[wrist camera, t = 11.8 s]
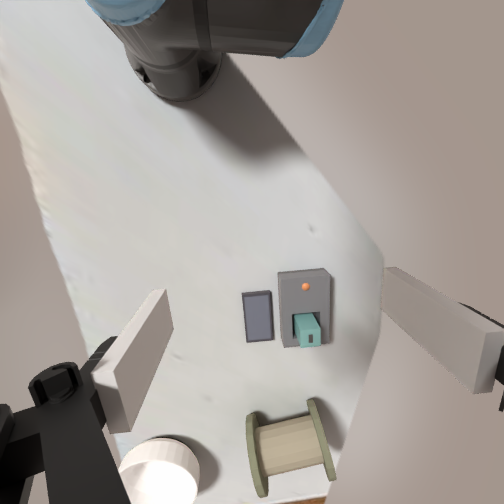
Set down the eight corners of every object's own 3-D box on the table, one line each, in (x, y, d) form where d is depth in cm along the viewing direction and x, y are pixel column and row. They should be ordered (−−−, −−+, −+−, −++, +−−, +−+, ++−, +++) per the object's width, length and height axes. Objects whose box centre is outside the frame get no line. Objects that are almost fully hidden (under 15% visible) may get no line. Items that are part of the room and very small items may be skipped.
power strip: (277, 272, 54) (280, 280, 50) (323, 268, 55) (330, 275, 51) (280, 336, 59) (284, 348, 55) (323, 332, 59) (329, 343, 55)
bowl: (207, 474, 70) (202, 513, 62) (135, 483, 70) (122, 523, 62) (197, 421, 65) (191, 455, 57) (119, 429, 64) (102, 465, 56)
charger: (292, 312, 56) (300, 331, 49) (310, 310, 56) (320, 329, 49) (293, 327, 57) (301, 348, 50) (310, 326, 57) (320, 346, 50)
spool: (259, 443, 68) (264, 514, 54) (244, 400, 64) (247, 465, 49) (318, 428, 68) (340, 496, 53) (308, 385, 63) (329, 446, 49)
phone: (246, 339, 59) (246, 342, 58) (241, 292, 55) (242, 295, 54) (272, 337, 59) (272, 340, 58) (269, 290, 55) (269, 292, 54)
